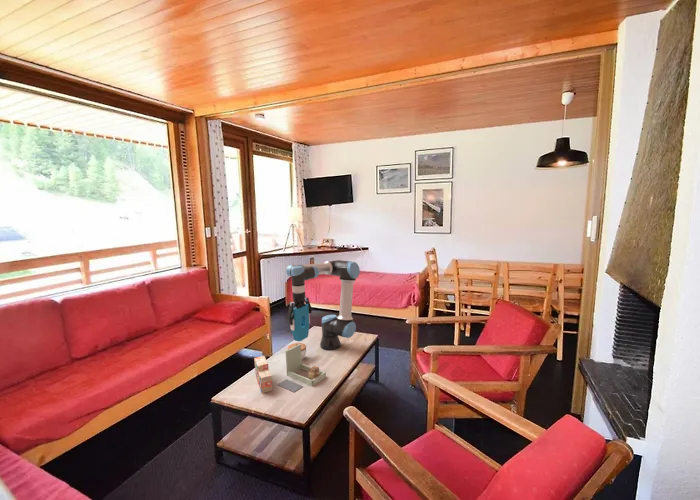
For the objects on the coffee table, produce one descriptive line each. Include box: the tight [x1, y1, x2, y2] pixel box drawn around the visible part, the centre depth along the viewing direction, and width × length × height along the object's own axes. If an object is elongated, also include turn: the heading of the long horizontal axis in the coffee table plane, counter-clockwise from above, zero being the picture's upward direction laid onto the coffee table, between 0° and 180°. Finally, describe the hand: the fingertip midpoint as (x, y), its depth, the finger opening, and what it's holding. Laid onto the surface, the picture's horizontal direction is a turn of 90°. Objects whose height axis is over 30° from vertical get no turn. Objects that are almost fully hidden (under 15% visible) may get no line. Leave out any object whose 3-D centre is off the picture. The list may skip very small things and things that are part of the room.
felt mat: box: [277, 379, 304, 393], centre depth 187 cm, size 7×14×1 cm, turn 53°
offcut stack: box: [307, 365, 320, 380], centre depth 193 cm, size 6×4×8 cm
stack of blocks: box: [253, 355, 273, 394], centre depth 191 cm, size 21×6×12 cm, turn 25°
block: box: [291, 303, 310, 342], centre depth 195 cm, size 12×5×20 cm, turn 149°
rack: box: [285, 344, 327, 387], centre depth 196 cm, size 12×22×16 cm, turn 53°
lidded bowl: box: [287, 342, 307, 360], centre depth 220 cm, size 13×13×11 cm
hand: (300, 326), depth 195 cm, fingers closed on block, 12 cm apart
